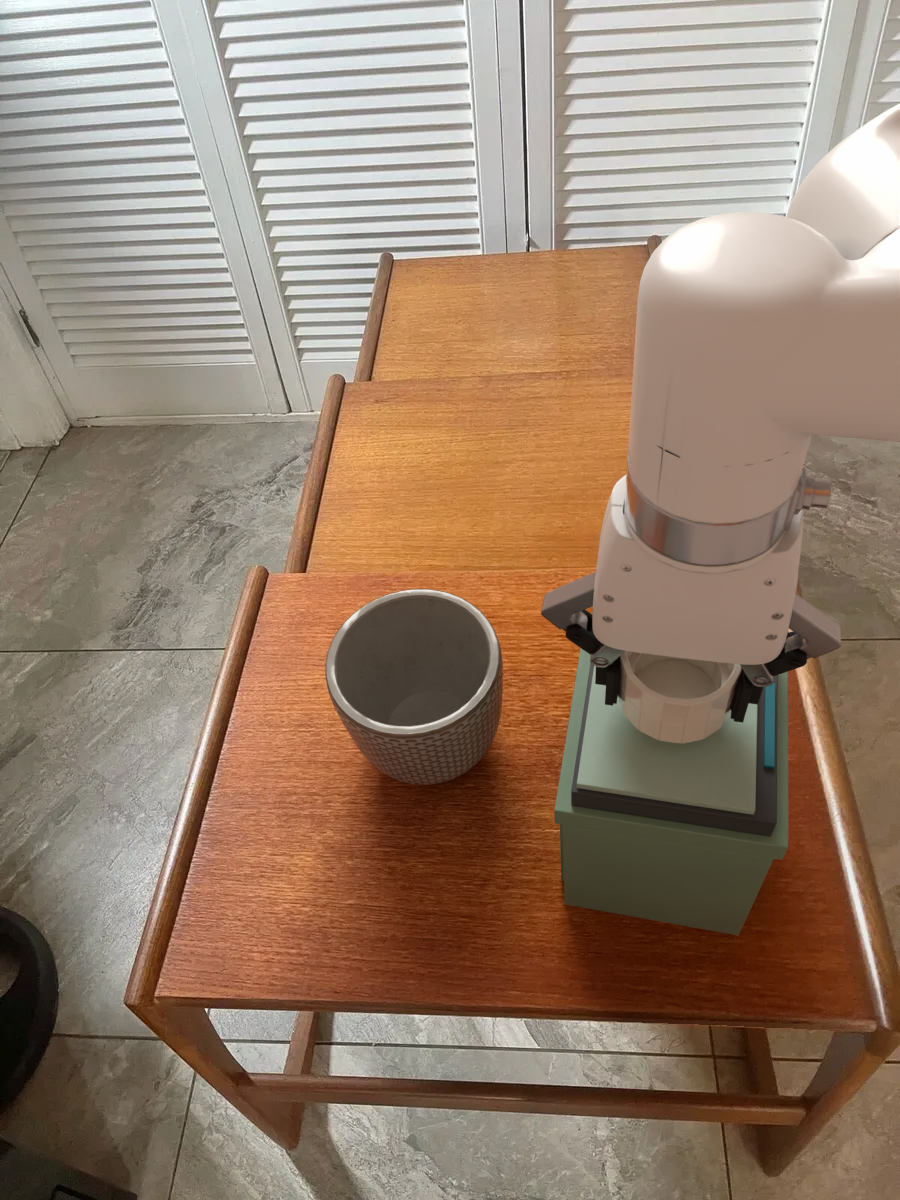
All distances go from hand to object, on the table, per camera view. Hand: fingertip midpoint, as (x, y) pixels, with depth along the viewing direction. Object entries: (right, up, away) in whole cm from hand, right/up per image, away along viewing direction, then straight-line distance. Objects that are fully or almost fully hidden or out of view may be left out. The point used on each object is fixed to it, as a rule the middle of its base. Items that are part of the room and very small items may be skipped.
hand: (674, 692), depth 56 cm
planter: (-15, -7, +24) cm, 30 cm away
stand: (+3, -13, +17) cm, 21 cm away
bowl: (0, 0, +1) cm, 1 cm away
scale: (+1, -3, +3) cm, 4 cm away
